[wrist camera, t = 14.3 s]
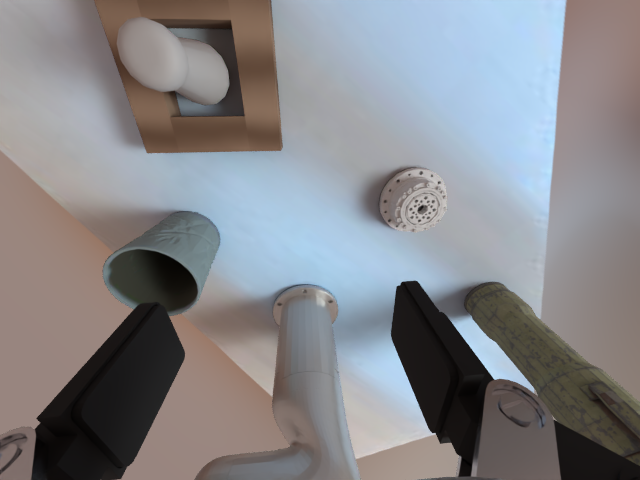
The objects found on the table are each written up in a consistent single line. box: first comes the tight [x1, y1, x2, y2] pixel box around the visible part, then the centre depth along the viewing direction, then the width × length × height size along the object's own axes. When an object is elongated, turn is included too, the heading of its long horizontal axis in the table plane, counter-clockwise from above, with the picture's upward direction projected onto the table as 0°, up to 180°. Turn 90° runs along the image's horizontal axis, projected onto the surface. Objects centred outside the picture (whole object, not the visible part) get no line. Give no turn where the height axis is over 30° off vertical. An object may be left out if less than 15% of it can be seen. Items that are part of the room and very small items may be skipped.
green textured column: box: [464, 282, 640, 466], centre depth 33 cm, size 9×12×35 cm
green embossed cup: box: [103, 211, 220, 316], centre depth 32 cm, size 10×10×12 cm
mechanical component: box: [379, 167, 448, 233], centre depth 35 cm, size 10×4×10 cm
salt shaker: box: [117, 17, 229, 105], centre depth 22 cm, size 6×6×13 cm
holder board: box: [94, 0, 283, 153], centre depth 26 cm, size 16×16×3 cm
